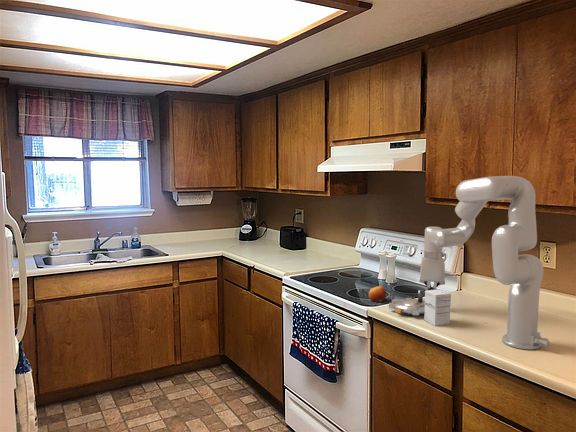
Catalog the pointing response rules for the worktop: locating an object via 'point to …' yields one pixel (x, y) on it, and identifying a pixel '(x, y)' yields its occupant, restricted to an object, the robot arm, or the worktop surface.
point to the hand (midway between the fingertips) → (431, 296)
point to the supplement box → (437, 307)
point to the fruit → (377, 294)
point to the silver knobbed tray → (409, 305)
